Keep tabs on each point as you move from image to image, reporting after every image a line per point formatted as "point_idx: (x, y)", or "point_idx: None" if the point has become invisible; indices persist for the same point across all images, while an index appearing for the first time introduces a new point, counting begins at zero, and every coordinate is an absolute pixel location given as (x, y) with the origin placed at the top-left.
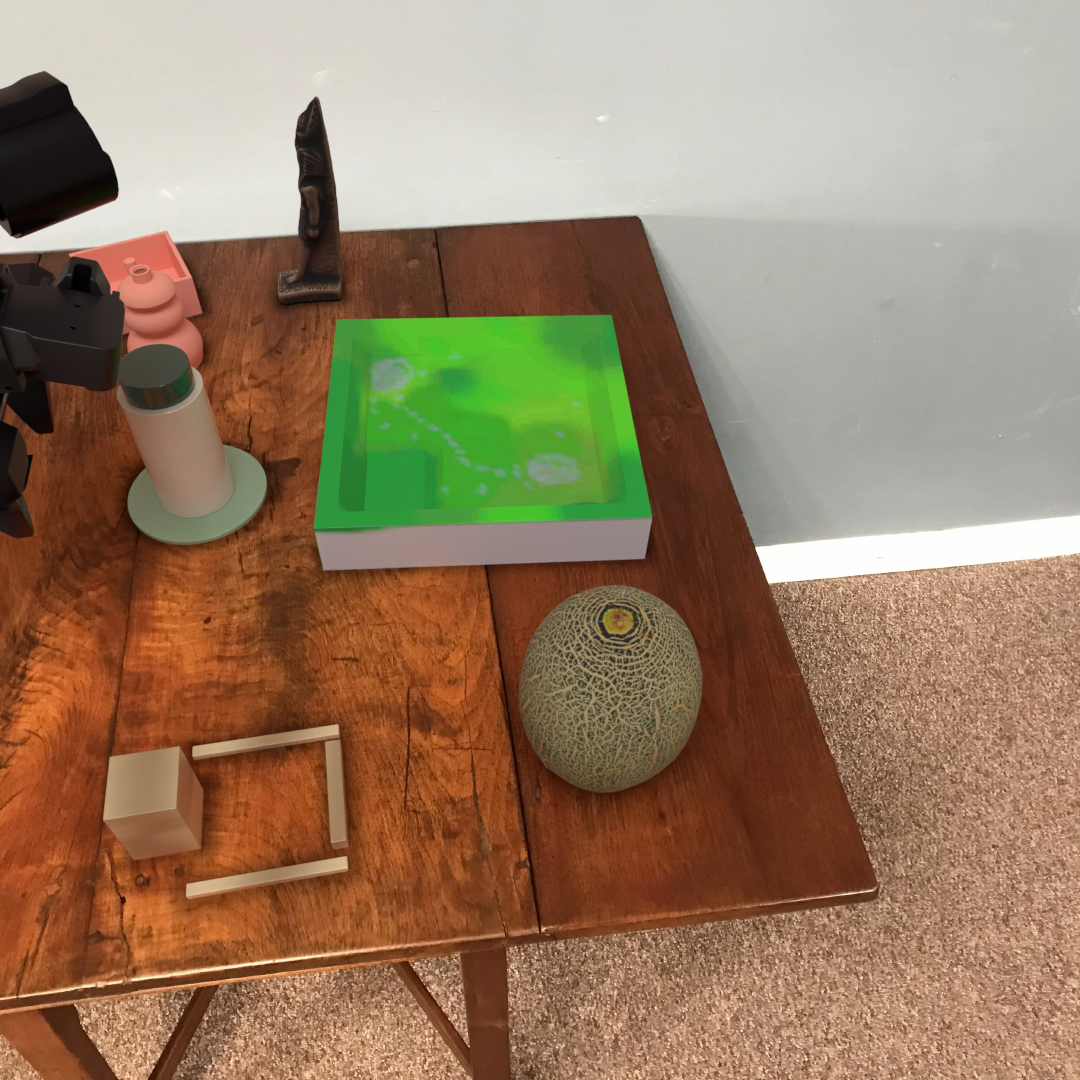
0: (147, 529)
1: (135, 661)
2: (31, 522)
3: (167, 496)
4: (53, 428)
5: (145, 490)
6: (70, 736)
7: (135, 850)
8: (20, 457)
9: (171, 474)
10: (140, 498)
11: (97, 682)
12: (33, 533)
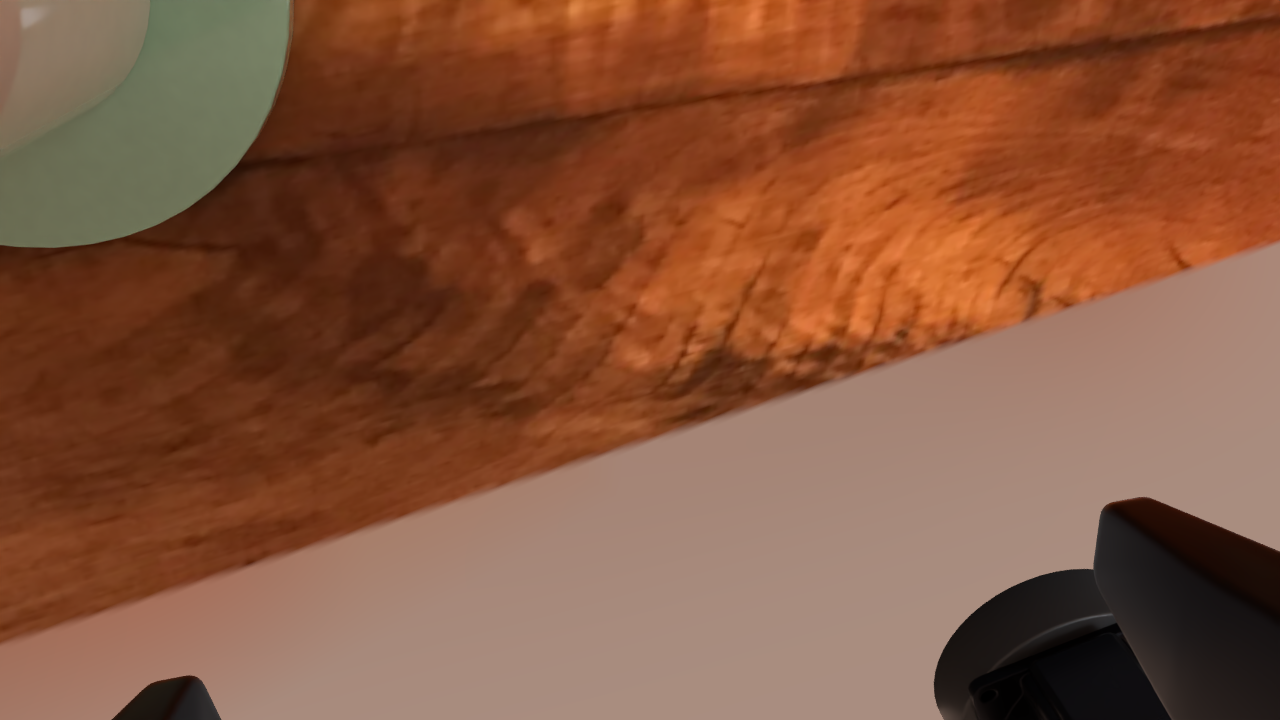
0: (240, 130)
1: (820, 42)
2: (1194, 543)
3: (100, 51)
4: (176, 692)
5: (28, 187)
6: (1046, 173)
7: None
8: None
9: (22, 1)
10: (78, 196)
11: (881, 145)
12: (1151, 500)
